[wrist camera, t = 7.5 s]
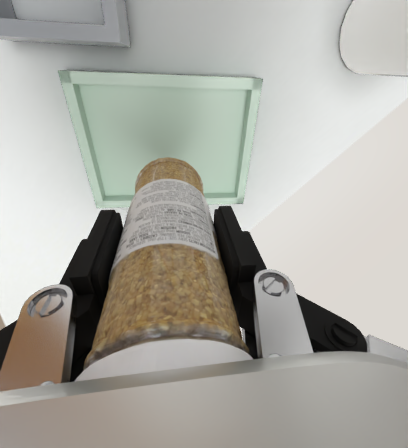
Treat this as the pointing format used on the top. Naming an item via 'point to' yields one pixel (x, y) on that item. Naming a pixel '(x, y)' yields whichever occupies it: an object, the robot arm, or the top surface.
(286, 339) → the robot arm
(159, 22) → the top surface
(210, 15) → the top surface
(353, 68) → the white bottle
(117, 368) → the sprinkles bottle
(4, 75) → the top surface
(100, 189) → the tray
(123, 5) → the holder
